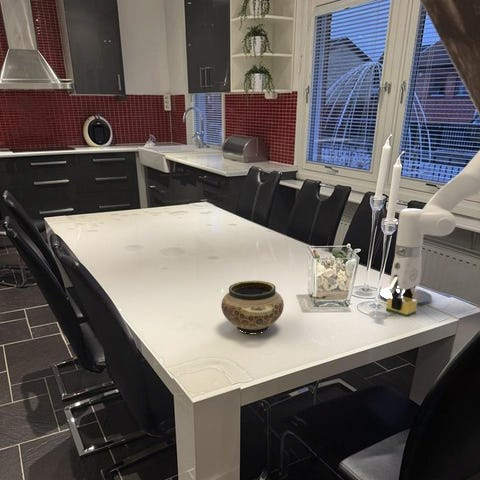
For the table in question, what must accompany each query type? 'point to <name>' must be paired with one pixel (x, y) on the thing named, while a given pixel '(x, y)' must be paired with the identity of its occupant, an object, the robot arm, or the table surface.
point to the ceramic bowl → (252, 305)
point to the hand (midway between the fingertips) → (401, 306)
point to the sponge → (403, 306)
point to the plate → (418, 295)
